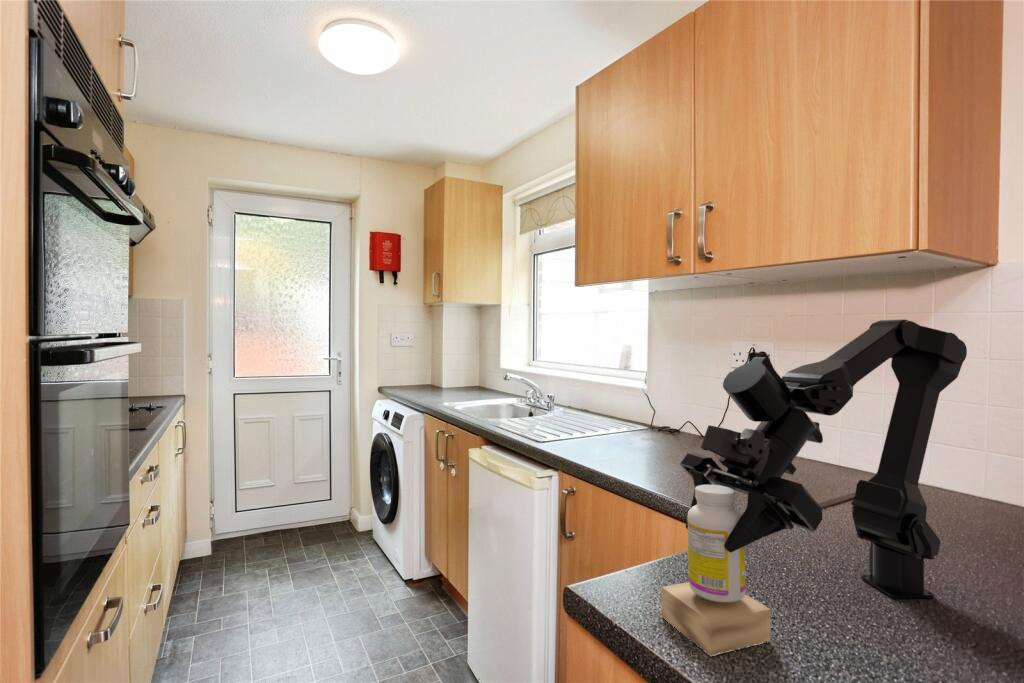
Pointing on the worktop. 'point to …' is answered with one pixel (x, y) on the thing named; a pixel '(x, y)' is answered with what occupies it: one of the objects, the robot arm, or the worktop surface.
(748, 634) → the oak block
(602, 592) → the worktop surface
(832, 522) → the worktop surface
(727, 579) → the supplement bottle
